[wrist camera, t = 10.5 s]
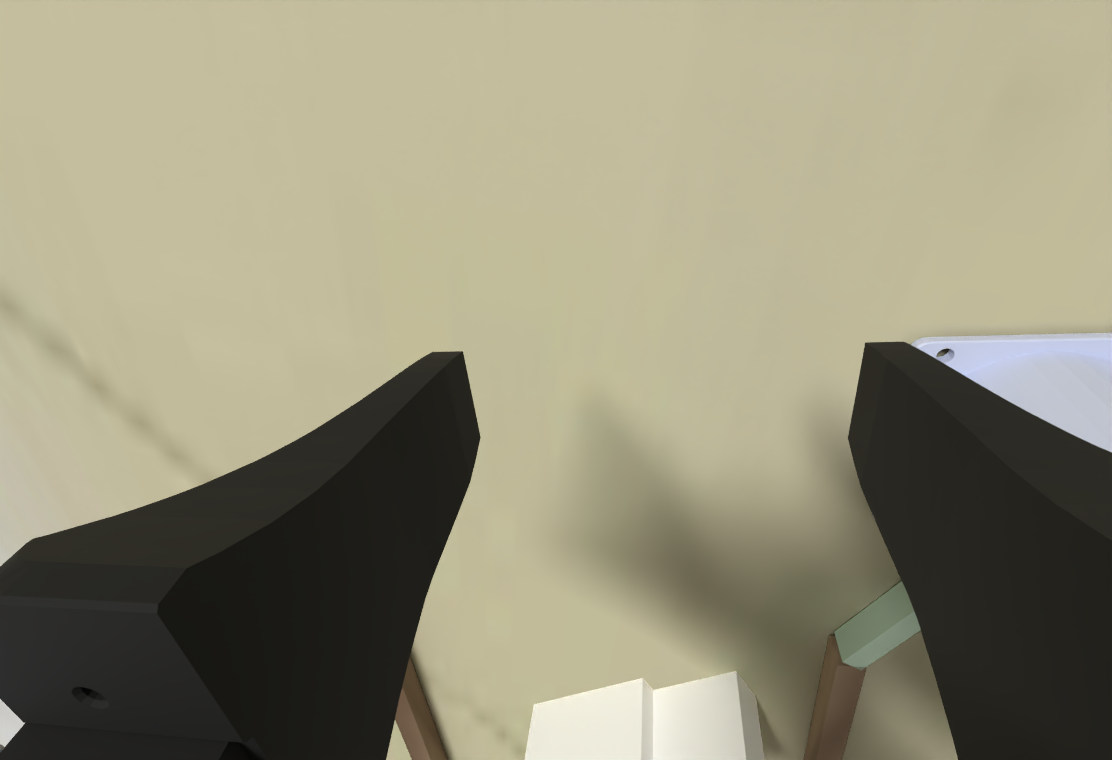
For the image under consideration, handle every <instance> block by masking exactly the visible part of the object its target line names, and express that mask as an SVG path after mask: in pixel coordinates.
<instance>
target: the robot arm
mask: <svg viewBox="0 0 1112 760" xmlns="http://www.w3.org/2000/svg"><path fill="white" fill-rule="evenodd" d="M947 348H948V349H949V351H948V353H947V354H945V355H944V356H940V357H937V356H936V355H937V353H938V352H939V351H941V350H942V349H947ZM848 440H849V444H850V448H851V452H852V456H853V460H854V464H855V468H856V471H857V475H858V478H859V482H860V485H861V488H862V490H863V493H864V495H865V498H866V500H867V502H868V505H869V507H870V509H871V512H872V515H873V518H874V520H875V521H876V523H877V526H878V528H879V530H880V532H881V535H882V537H883V539H884V542H885V544H886V546H887V548H888V551H889V553H890V555H891V557H892V560H893V562H894V564H895V567H896V569H897V571H898V573H899V576H900V578H901V580H902V582H903V585H904V587H905V589H906V592H907V594H908V596H909V599H910V601H911V604H912V607H913V609H914V612H915V614H916V617H917V620H918V623H919V626H920V629H921V632H922V635H923V639H924V642H925V645H926V648H927V652H928V655H929V658H930V661H931V664H932V668H933V671H934V674H935V677H936V681H937V684H938V688H939V691H940V695H941V698H942V702H943V706H944V709H945V713H946V716H947V720H948V723H949V727H950V730H951V734H952V737H953V741H954V745H955V749H956V752H957V756H958V760H1112V333H1081V334H1038V335H994V336H950V337H925V338H920V339H918V340H916V341H914V342H913V343H912V344H911V345H910V344H908V343H905V342H873V343H865V348H864V353H863V359H862V364H861V370H860V375H859V381H858V386H857V392H856V397H855V403H854V408H853V414H852V419H851V425H850V430H849V435H848ZM479 442H480V433H479V428H478V423H477V418H476V413H475V408H474V404H473V399H472V394H471V389H470V384H469V379H468V374H467V370H466V365H465V360H464V355H463V351H461V352H432V353H430V354H428V355H426V356H425V357H423V358H421V359H420V360H418V361H417V362H415V363H414V364H412V365H411V366H409V367H408V368H406V369H405V370H403V371H402V372H401V373H399V374H398V375H396V376H395V377H393V378H392V379H391V380H389V381H388V382H386V383H385V384H383V385H382V386H381V387H379V388H378V389H376V390H375V391H373V392H372V393H370V394H369V395H368V396H366V397H365V398H363V399H362V400H360V401H359V402H357V403H356V404H354V405H353V406H351V407H350V408H348V409H346V410H345V411H343V412H342V413H340V414H339V415H337V416H335V417H334V418H332V419H331V420H329V421H328V422H326V423H324V424H323V425H321V426H320V427H318V428H317V429H315V430H313V431H312V432H310V433H308V434H306V435H305V436H303V437H301V438H299V439H298V440H296V441H294V442H292V443H290V444H288V445H286V446H284V447H283V448H281V449H279V450H277V451H275V452H273V453H271V454H269V455H267V456H265V457H263V458H261V459H259V460H257V461H255V462H253V463H250V464H248V465H246V466H244V467H241V468H239V469H237V470H235V471H232V472H230V473H228V474H225V475H223V476H221V477H219V478H216V479H214V480H212V481H210V482H207V483H205V484H203V485H200V486H198V487H195V488H193V489H190V490H187V491H185V492H182V493H179V494H177V495H174V496H171V497H169V498H166V499H163V500H160V501H157V502H155V503H152V504H149V505H146V506H143V507H140V508H137V509H134V510H131V511H128V512H125V513H122V514H119V515H116V516H112V517H109V518H105V519H102V520H98V521H95V522H92V523H88V524H85V525H81V526H78V527H74V528H71V529H67V530H64V531H60V532H57V533H53V534H50V535H46V536H42V537H38V538H34V539H32V540H31V541H29V542H28V543H26V544H25V545H24V546H23V547H22V548H21V549H20V550H18V551H17V552H16V553H15V554H14V555H13V556H12V557H11V558H9V559H8V560H7V561H6V562H5V563H4V564H3V565H2V566H0V699H1V700H2V701H3V702H4V703H5V704H6V705H7V706H8V707H9V708H10V709H11V710H12V711H13V712H14V713H15V714H16V715H17V716H18V717H19V718H20V719H21V720H22V721H23V722H24V723H25V724H24V725H23V727H22V728H21V729H20V730H19V731H18V732H17V734H16V735H15V736H14V737H13V738H12V739H11V741H10V742H9V743H8V744H7V745H6V747H4V746H2V745H0V760H386V757H387V752H388V748H389V743H390V739H391V734H392V730H393V725H394V721H395V716H396V712H397V707H398V702H399V698H400V694H401V690H402V686H403V682H404V678H405V674H406V670H407V666H408V662H409V658H410V653H411V649H412V645H413V642H414V638H415V634H416V631H417V627H418V623H419V620H420V616H421V612H422V609H423V605H424V602H425V598H426V595H427V592H428V589H429V586H430V583H431V580H432V578H433V575H434V572H435V570H436V567H437V565H438V562H439V560H440V557H441V555H442V552H443V550H444V547H445V545H446V542H447V540H448V537H449V535H450V532H451V530H452V527H453V525H454V522H455V519H456V517H457V514H458V512H459V509H460V507H461V504H462V502H463V499H464V496H465V494H466V491H467V488H468V486H469V483H470V480H471V476H472V472H473V468H474V464H475V460H476V455H477V451H478V446H479Z"/></svg>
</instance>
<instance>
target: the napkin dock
mask: <svg viewBox="0 0 1112 760" xmlns="http://www.w3.org/2000/svg"><path fill="white" fill-rule="evenodd" d="M920 630H921V629H920V626H919V623H918V620H917V617H916V614H915V612H914V609H913V607H912V604H911V601H910V599H909V596H908V594H907V592H906V589H905V587H904V585H903V582H902V581H901V582H899V583H898V584H897V585H895V586H894V587H893V588H891V589H890V590H889V591H888V592H886V593H885V594H884V595H882V596H881V597H880V598H878V599H877V600H876V601H874V602H873V603H872V604H870V605H869V606H868V607H866V608H865V609H864V610H862V611H861V612H860V613H858V614H857V615H856V616H854V617H853V618H852V619H850V620H849V621H848V622H846V623H845V624H844V625H842V626H841V627H840V628H838V629H837V630H836V631H834V633H835V635H829V639H828V643H827V648H826V653H825V658H824V663H823V668H822V673H821V677H820V682H819V687H818V692H817V697H816V702H815V707H814V711H813V716H812V721H811V726H810V731H809V736H808V741H807V745H806V750H805V755H804V760H842V758H843V754H844V750H845V746H846V743H847V739H848V735H849V731H850V728H851V724H852V720H853V716H854V713H855V709H856V705H857V701H858V698H859V694H860V690H861V687H862V683H863V679H864V675H865V672H866V668H867V666H869V665H870V664H872V663H873V662H875V661H876V660H878V659H879V658H881V657H882V656H884V655H885V654H886V653H888V652H889V651H891V650H892V649H894V648H895V647H897V646H898V645H900V644H901V643H903V642H904V641H906V640H907V639H909V638H910V637H911V636H913V635H914V634H916V633H917V632H919V631H920ZM395 720H396V723H397V725H398V727H399V730H400V732H401V734H402V737H403V739H404V742H405V744H406V746H407V749H408V751H409V753H410V756H411V758H412V760H448V759H447V757H446V754H445V751H444V748H443V746H442V743H441V740H440V737H439V735H438V732H437V729H436V726H435V724H434V721H433V718H432V715H431V713H430V710H429V707H428V704H427V702H426V699H425V696H424V693H423V691H422V688H421V685H420V682H419V680H418V677H417V674H416V671H415V669H414V666H413V663H412V661H411V658H409V662H408V666H407V670H406V674H405V678H404V682H403V686H402V690H401V694H400V698H399V702H398V707H397V712H396V716H395Z"/></svg>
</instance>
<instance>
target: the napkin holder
mask: <svg viewBox="0 0 1112 760" xmlns="http://www.w3.org/2000/svg"><path fill="white" fill-rule="evenodd" d="M525 760H765V758H764V751H763V744H762V737H761V730H760V722H759V715H758V708H757V701H756V696H755V695H754V694H753V692H752V691H751V690H750V689H749V687H748V686H747V685H746V683H745V682H744V681H743V679H742V678H741V677H740V675H739V674H738V673H737V672H736V671H734V672H729V673H725V674H721V675H717V676H712V677H708V678H704V679H699V680H695V681H691V682H687V683H682V684H678V685H674V686H669V687H665V688H661V689H657V690H653V689H652V688H651V687H650V686H649V685H648V683H647V682H646V681H645V680H644V679H643V678H641V679H636V680H632V681H628V682H624V683H620V684H616V685H612V686H608V687H604V688H599V689H595V690H591V691H587V692H583V693H579V694H575V695H571V696H567V697H562V698H558V699H554V700H550V701H546V702H542V703H538V704H534V707H533V713H532V719H531V725H530V731H529V737H528V743H527V748H526V754H525Z"/></svg>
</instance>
